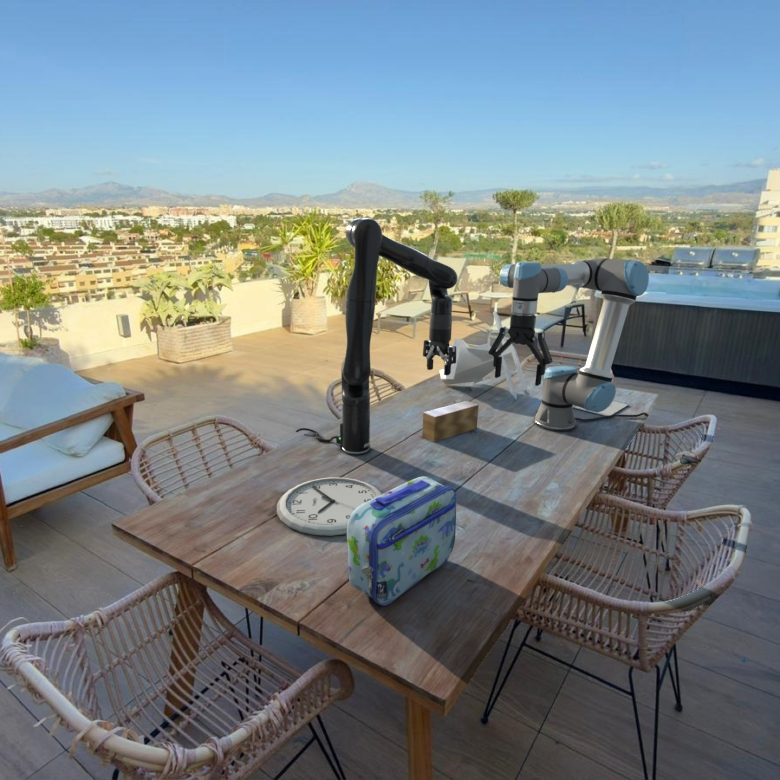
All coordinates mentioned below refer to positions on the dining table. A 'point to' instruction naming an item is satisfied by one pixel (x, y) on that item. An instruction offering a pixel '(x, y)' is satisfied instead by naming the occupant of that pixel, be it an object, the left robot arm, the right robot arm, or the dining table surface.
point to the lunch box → (400, 538)
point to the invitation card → (608, 409)
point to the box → (449, 421)
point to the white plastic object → (482, 363)
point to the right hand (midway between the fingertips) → (517, 380)
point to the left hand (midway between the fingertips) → (438, 372)
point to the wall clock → (324, 504)
